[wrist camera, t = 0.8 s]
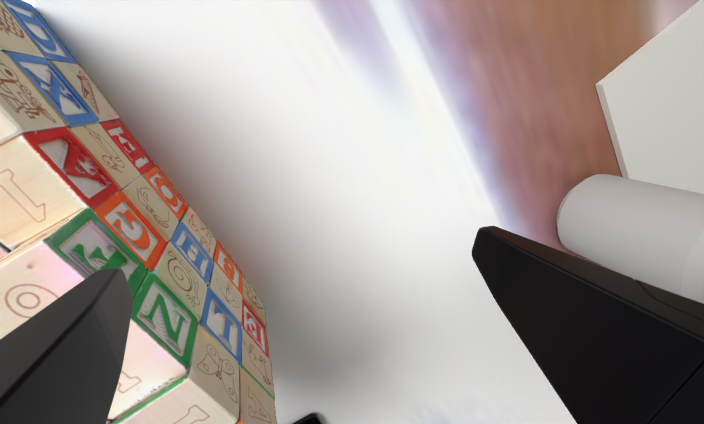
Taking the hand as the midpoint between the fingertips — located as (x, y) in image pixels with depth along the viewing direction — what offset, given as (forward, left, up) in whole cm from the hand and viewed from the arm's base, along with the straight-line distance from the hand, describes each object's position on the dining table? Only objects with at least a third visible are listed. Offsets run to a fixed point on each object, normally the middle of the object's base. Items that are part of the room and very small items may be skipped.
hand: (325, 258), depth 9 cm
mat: (-12, -35, -15) cm, 40 cm away
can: (-15, -24, -15) cm, 32 cm away
